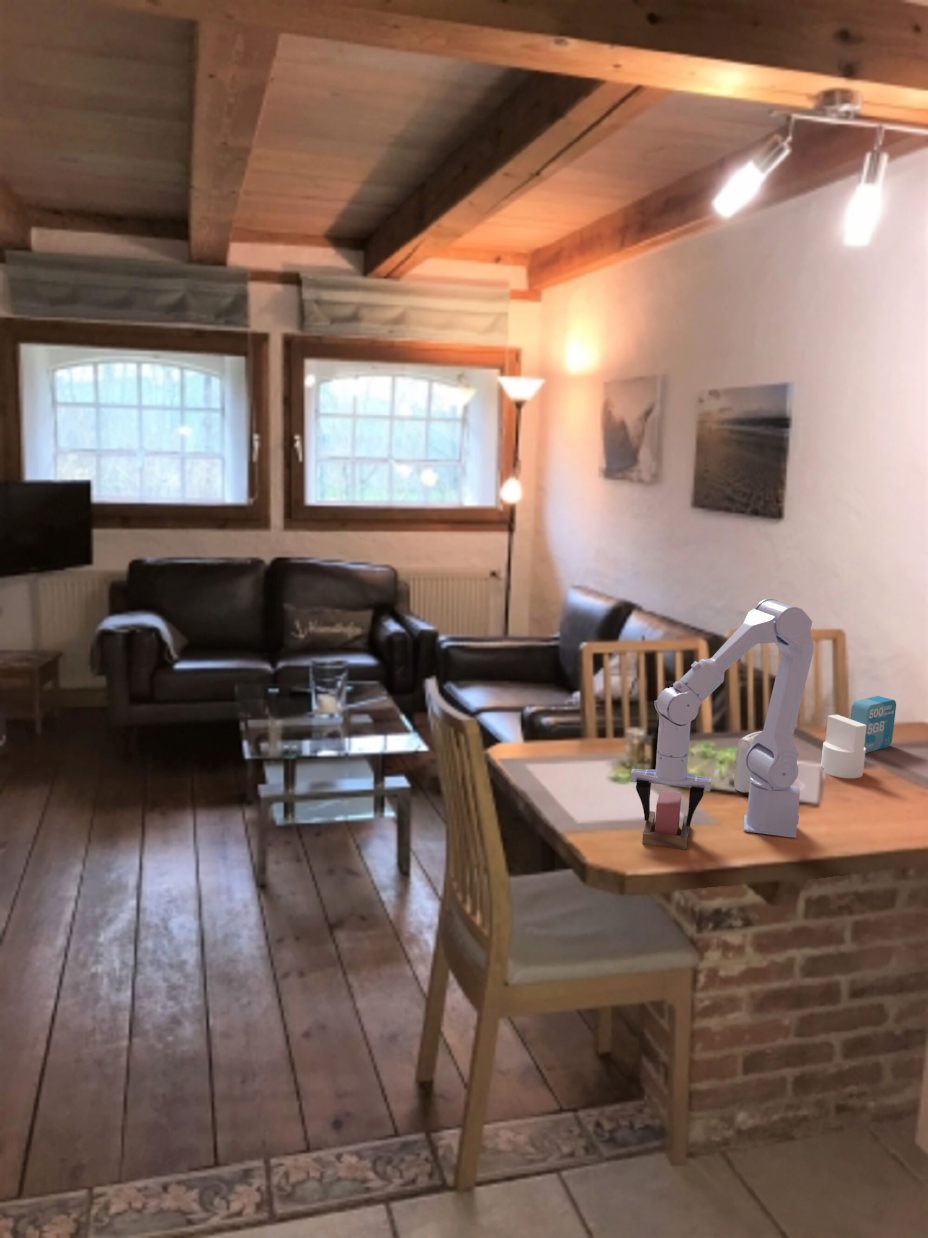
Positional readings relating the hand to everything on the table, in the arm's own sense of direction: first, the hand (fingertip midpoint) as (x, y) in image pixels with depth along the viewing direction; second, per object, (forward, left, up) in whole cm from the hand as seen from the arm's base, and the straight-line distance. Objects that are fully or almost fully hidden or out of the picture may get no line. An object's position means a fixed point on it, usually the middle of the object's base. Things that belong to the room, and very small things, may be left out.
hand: (667, 821), depth 189 cm
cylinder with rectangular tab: (-35, -50, -3) cm, 61 cm away
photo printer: (-16, -32, -3) cm, 36 cm away
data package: (-43, -71, -3) cm, 83 cm away
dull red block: (0, 0, -3) cm, 3 cm away
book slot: (0, 0, -2) cm, 2 cm away
